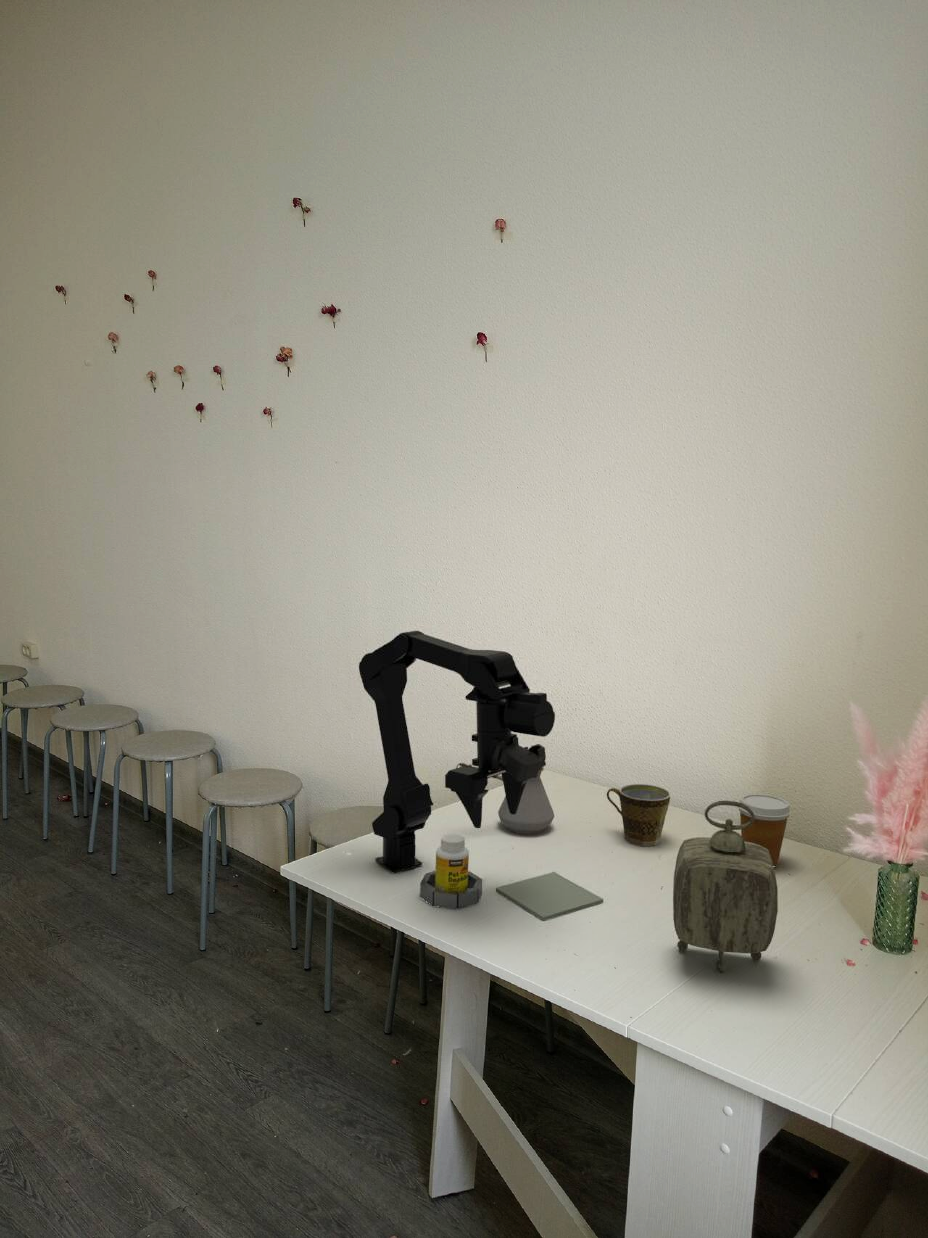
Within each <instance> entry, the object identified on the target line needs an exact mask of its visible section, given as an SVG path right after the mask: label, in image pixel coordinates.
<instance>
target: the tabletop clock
mask: <svg viewBox="0 0 928 1238" xmlns="http://www.w3.org/2000/svg"><path fill="white" fill-rule="evenodd" d="M739 802H740V801H735V800H718V801H715V802H712V803H711V804H709V805H708V806H707V807H706V808H705V810H704V818H705V820H706V821H707V822H708V824H710V825H711V826H714V827H716V828H718V829H720V830H717V831H715V832H714V833H713V834H712V835H711V836H710V837H707V836H706V837H703V836H702V837H701V836H699V837H697V836H696V837H692V838H688V839H685V840H683V841H682V843H681V845H680V847H679V849H678V852H677V856H676V860H675V867H674V874H673V885H672V886H673V887H672V888H673V890H672V896H673V897H672V908H673V909H672V911H673V914H672V915H673V917H672V918H673V925H674V931H675V933H676V935H677V938H678V940H679V941H677V945H676V947H677V948H678V950H679V951H681V952H684V951H686V950H688V948H689V946H693V947H696V948H700V949H701V948H702V949H706V950H711V951H716V952H718V953H717V954H718V960H717V961H715V963H714V968H715V970H716V971H717V972H719V973H724V972H725V971H726V969H727V964H726V963H725V961H724V953H735V954H750V958H751V959H752V961H756V962H757V961H760V960H761V959H762V952H765V951H767V950H768V949H769V947H770V945H771V943H772V940H773V937H774V935H775V929H776V923H777V917H778V911H779V908H778V904H779V900H778V899H779V898H778V895H779V892H778V884H777V883H778V882H777V876H776V872H775V868H774V867H773V863H772V859H771V856H770V853H769V851H768V849H766V848H764V847H762V846H760V845H758V844H755V843H750V842H745V841H744V840H743V838H742V836H741V833H739V832H737V831H741V829H745V828H748V827H749V826H751V825H752V824H753V822H754V820H755V816H754V813H753V811H752V810H751V809H750V808H749V807H748V806H746V805H744V804H743V803H739ZM719 806H730V807H737V808H738V807H741V808H743V809H745V810H746V811H747V812H749V813H750V815H751V821H750V822H749V823H746V824H743V825H741V824H733V823H734V822H733V820H732V819H730V818H728V819H726V820H725V823H721V822H718V821H715V820H713V819H711V818H710V817H709V815H708V814H709V812H710V811H711V810H712V809H714V808H715V807H719Z"/></svg>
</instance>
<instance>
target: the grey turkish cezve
mask: <svg viewBox="0 0 928 1238" xmlns="http://www.w3.org/2000/svg"><path fill="white" fill-rule="evenodd" d="M459 766H460V767H462V766H464V767H469V768H473V769H479V768H478V766H474V765H472V764H466V763H465V762H460V763H458V764H457V765H456V767H455V769H456V768H459ZM544 769H545V766H544V767H542V770H539V772H538V776H537V777H536V778H531V779H530V780H529V781H528V782H527V783H526V785H525V788H524V790H523V793H522V796H521V800H520V803H519V806H518V809H517V812H516V814H510V812H509V808H508V805H507V800H506V795H505V796H504V799H503V800H502V803H501V804H500V807H499V808H498V812H497V814H498V817H499V821H501V823H502V824H503V825H504V826H505V827H507V829H508V830H510V831H511V832H513V833H517V834H522V835H533V834H539V833H542V832H543V831H544V830H545V829H546V828H548V827H549V826H550V825H551V824H552V822H553V820H554V818H555V813H554V810H553V807H552V804H551V802H550V799H549V797H548V794H547V792H546V789H545V785H544V784H543V781H542V779H541V774H542V772H543V771H544ZM489 772H490V771H489ZM491 778H492V779H496V780H499V781H501V782H503V780H502V775H497V776H494V777H491Z"/></svg>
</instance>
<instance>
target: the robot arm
mask: <svg viewBox="0 0 928 1238" xmlns="http://www.w3.org/2000/svg"><path fill="white" fill-rule="evenodd" d="M417 660H420V661H421V662H425V663H429V664H432V665H434V666H437V667H441V668H442V669H445V670H448V671H452V672H454V673H456V674H458V675H459V676H461V679H463V681H464V682H465V683H467V684H469V685H470V686H472V687H473V688H472V690H471V691H470V692H469V693H468V694H466V695H465V700H467V701H472V702H476V704H475V705H476V710H475V711H476V733H475V734H471V742H476V749H477V750H476V751H477V753H476V758H472V759H471V765H472V766H473V767H478V768H479V769H473V768H469V767H464V766H462V767H461V766H460V767H459V766H458V767H457V768H456V767H455V768H453V769H450V770H448V771H447V772H446V774H445V775H444V779H445V780H444V787H445V788H446V789H450V791H451V792H453V793H455V794H456V796H457V797H458V798H459V800H460V802H461V804H462V805H463V807H464V809H465V811H466V813H467V815H468V817H469V819H470V821H471V824H472V825H473V827H474V828H475V829H481V827H482V821H483V820H482V818H483V798H484V797H485V796H486V795H487V794H488V792H489V789H486V787H487V786H488V784H489V783H488V780H489V779H490V778H492V777H494V776H497V775H499V776H502V780H503V781H502V780H501V781H502V784H503V790H504V794H505V796H506V800H507V805H508V808H509V812H510V814H516V812H517V809H518V806H519V803H520V800H521V796H522V793H523V790H524V788H525V785H526V783H527V782H528V781H529V780H530V779H531V778H536V777H537V776H538V772H539V770H542V767H544V768H545V766H546V765H547V763H546V759H547V757H546V748H545V746H543V745H541V744H540V743H537V744H534V745H531V746H530V747H528V746H524V747H523V746H521V745H520V743H519V737H518V734H522V735H530V736H535V737H542V738H543V737H547V736H549V734H551V732H552V731H553V728H554V724H555V720H556V712H555V711H554V708H553V705H552V704H551V702H550V701H548V696H547V692H530V691H531V690H530V687H529V686H528V684H527V682H526V681H525V679H524V677H523V675H522V674H521V672H520V670H519V669H518V667H517V666H516V662H515V660H514V657H513V655H512V654H510V653H509V652H507V651H504V650H493V649H474V648H473V649H471V648H468V647H465V646H462V645H459V644H456V643H452V642H449V641H447V640H443V639H440V638H438V637H434V636H431V635H428V634H425V633H424V632H422V631H420V630H412V631H404V632H400V633H399V634H398V635H396V636H395V637H394V638H393V639H392V640H390V641H388V642H387V643H385V644H383V645H382V646H379V647H378V648H377V649H375V650H373V651H372V652H369V653H366V654H364V655H363V656H362V658H361V660H360V661H359V663H358V673H359V676H360V679H361V682H362V686H363V688H364V690H365V692H366V693H367V694H368V696H370V698H371V699H372V700H373V701H374V704H375V709H376V715H377V721H378V727H379V734H380V738H381V739H380V740H381V745H382V750H383V756H384V762H385V769H386V774H387V780H388V781H387V784H386V787H385V790H384V793H383V797H382V802H383V803H382V804H383V805H382V806H383V812H382V813H381V814H380V815H379V816H377V817H376V818H375V819H374V820H373V821H371V827H372V830H373V834H374V835H375V836H378V837H380V838H381V837H382V856H378V857H375V859H374V860H375V862H377V863H378V864H379V865H380V866H382V867H383V868H385V869H386V870H387V871H389V872H390V873H397V872H402V871H406V870H408V869H414V868H417V867H421V866H423V862H422V861H420V860H419V859H417V858H416V849H417V848H416V846H417V845H416V833H415V832H416V831H418V830H422V829H424V828H425V826H426V822H427V820H428V819H429V817H430V816H431V815H432V806H434V802H433V801H432V797H431V788H430V785H429V783H424V784H423V783H422V782H421V780H420V779H419V778H418V777H417V774H416V771H415V765H414V761H413V754H412V753H413V752H412V748H411V743H410V736H409V730H408V725H407V718H406V713H405V708H404V701H403V695H404V692H405V689H406V685H407V682H408V668H409V667H411V665H413V664H414V663H415V662H416V661H417ZM516 733H517V734H516ZM489 771H490V772H489Z"/></svg>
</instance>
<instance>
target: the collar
mask: <svg viewBox="0 0 928 1238" xmlns="http://www.w3.org/2000/svg"><path fill="white" fill-rule="evenodd" d="M435 873H436V870H433V871H430V872H426V873H425V874H424V875H423V877H422V879H421V881H420V883H419V886H420V887H419V897H421V898H420V899H422V898H423V899H424V900H425V901H424V900H423V899H422V900H423V901H424V902H426V901H427V902H428V904H429V903H430V904H431V905H432V906H431V905H430V904H429V905H430V906H431V907H434V906H439V907H438V908H441V907H444V908H443V909H451V910H460V909H464V908H467V907H471V906H475V905H477V904H479V902H480V900H481V898H482V895H483V878H482V877H480V876H478V875H476V874H475V873H473V872H471V871H470V870H468V889H467V890H463V891H459V892H451V891H441V890H436V889H435ZM427 902H426V903H427Z"/></svg>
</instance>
